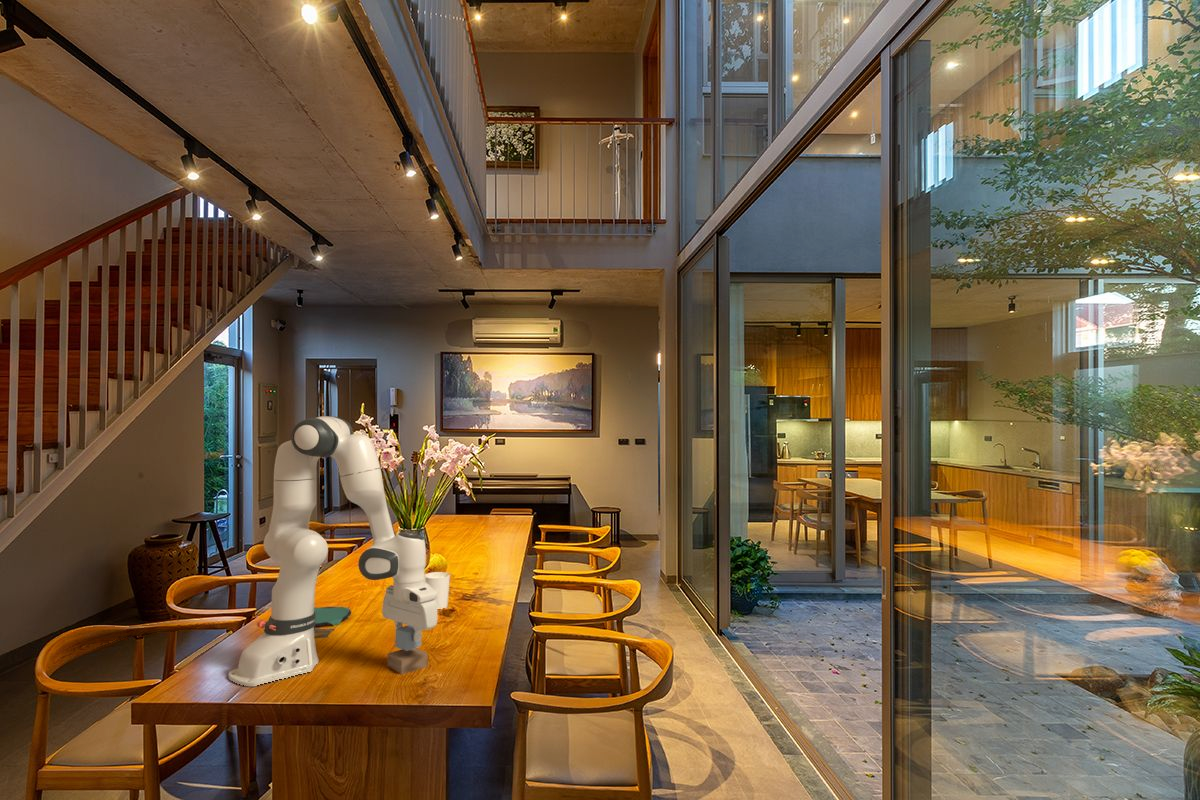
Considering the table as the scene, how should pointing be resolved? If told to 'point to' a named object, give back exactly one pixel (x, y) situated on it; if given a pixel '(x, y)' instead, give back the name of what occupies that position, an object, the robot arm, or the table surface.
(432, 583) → the candle holder
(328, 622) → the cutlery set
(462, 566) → the table surface
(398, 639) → the block
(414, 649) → the walnut base
